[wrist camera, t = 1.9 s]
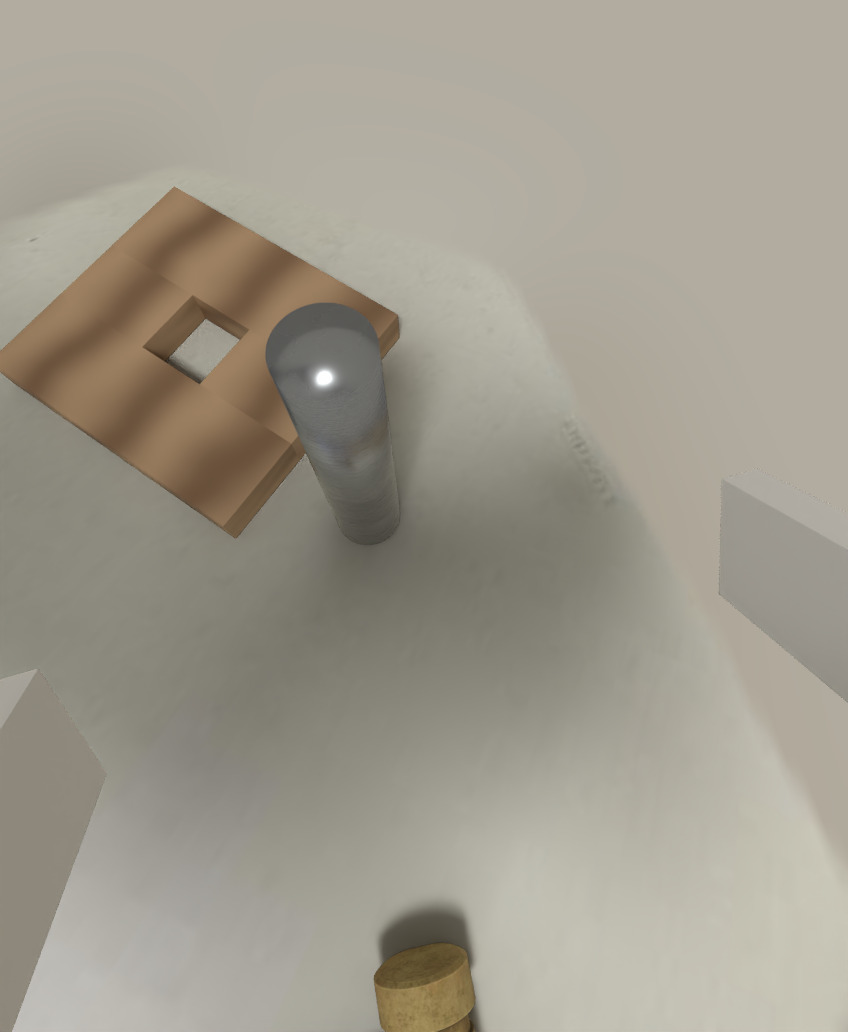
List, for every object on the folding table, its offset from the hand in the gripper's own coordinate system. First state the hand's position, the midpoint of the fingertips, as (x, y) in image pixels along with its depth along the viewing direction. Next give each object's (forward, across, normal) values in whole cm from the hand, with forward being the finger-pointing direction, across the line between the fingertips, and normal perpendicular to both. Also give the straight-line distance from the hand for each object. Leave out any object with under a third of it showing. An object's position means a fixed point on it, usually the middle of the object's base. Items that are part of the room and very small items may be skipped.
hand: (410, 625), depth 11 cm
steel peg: (+25, 0, -9) cm, 27 cm away
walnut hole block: (+35, -8, +1) cm, 36 cm away
